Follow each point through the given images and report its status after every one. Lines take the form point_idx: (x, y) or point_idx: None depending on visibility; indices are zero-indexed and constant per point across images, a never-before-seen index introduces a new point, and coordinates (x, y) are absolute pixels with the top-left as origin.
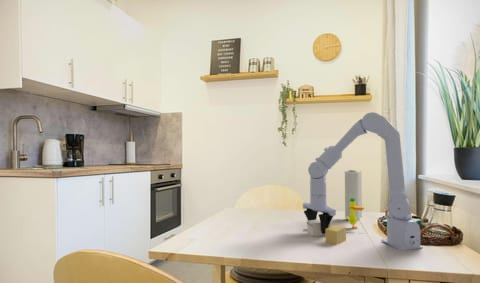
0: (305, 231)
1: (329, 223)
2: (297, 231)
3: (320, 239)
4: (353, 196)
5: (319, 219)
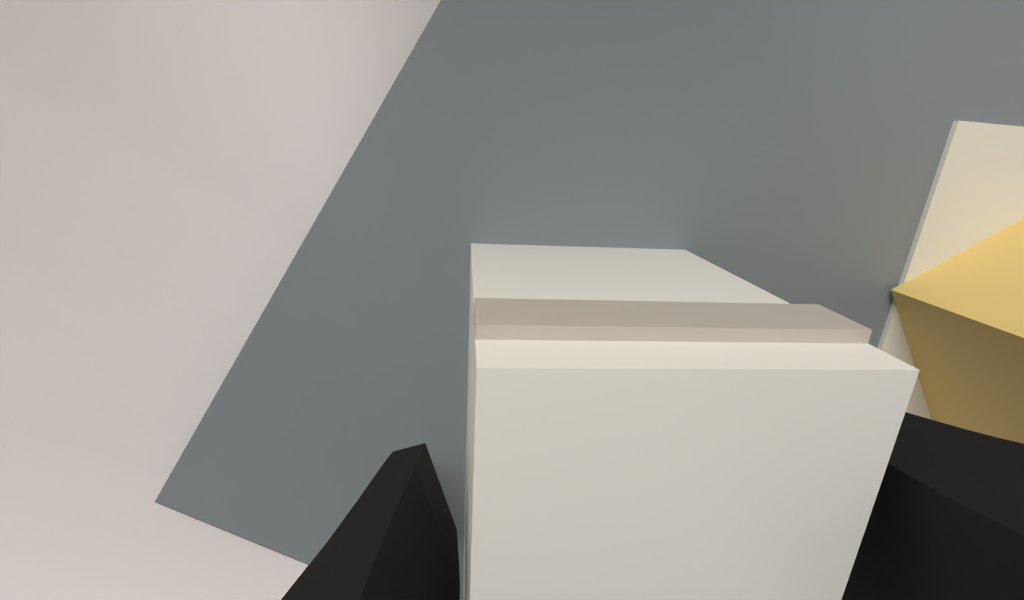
0: (328, 531)
1: (996, 451)
2: (240, 597)
3: None
4: None
5: (479, 561)
